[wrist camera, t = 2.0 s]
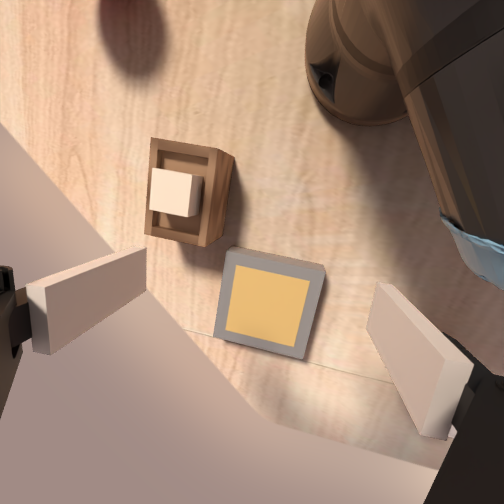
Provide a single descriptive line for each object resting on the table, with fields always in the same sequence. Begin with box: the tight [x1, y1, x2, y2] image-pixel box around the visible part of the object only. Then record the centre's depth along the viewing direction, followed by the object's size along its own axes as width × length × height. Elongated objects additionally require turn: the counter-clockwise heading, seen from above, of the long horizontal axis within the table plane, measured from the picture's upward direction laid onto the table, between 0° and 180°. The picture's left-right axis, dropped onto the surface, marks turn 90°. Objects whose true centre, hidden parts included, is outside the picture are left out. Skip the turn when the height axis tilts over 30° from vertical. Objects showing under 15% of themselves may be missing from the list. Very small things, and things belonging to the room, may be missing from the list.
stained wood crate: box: [144, 137, 234, 247], centre depth 31 cm, size 10×7×7 cm
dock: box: [213, 246, 326, 360], centre depth 34 cm, size 12×12×3 cm
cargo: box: [149, 168, 203, 217], centre depth 27 cm, size 4×4×3 cm
